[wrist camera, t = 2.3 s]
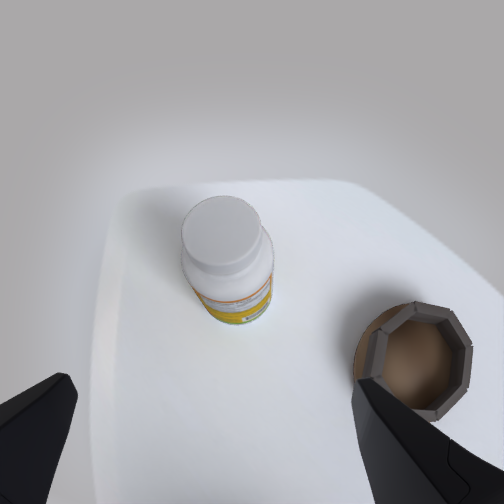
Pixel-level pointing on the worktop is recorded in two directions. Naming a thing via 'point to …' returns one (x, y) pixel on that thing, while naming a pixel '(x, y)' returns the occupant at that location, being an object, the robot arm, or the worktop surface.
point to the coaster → (417, 357)
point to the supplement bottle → (228, 259)
